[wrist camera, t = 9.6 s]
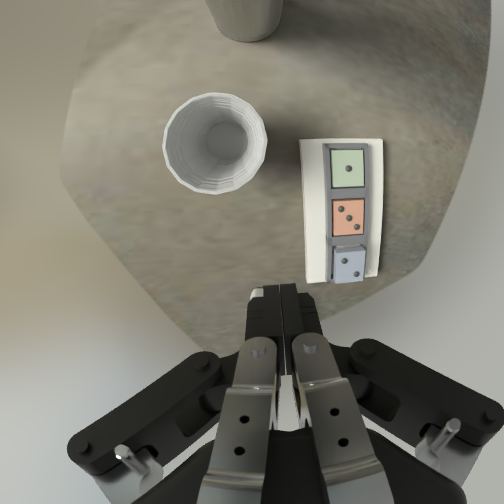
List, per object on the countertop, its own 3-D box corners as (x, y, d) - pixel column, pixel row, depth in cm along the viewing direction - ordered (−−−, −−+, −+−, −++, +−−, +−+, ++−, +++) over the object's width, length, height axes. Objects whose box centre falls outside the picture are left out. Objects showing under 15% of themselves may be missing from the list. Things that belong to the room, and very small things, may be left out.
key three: (331, 198, 38) (334, 201, 36) (360, 197, 37) (364, 200, 36) (331, 231, 40) (334, 236, 38) (359, 229, 39) (363, 233, 38)
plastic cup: (277, 117, 35) (283, 111, 24) (249, 186, 40) (245, 209, 29) (204, 93, 34) (180, 79, 23) (180, 162, 38) (149, 176, 27)
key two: (334, 248, 39) (336, 253, 38) (362, 246, 39) (365, 251, 37) (333, 278, 41) (335, 284, 40) (360, 275, 41) (363, 281, 39)
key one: (329, 149, 35) (332, 150, 33) (359, 149, 34) (363, 150, 33) (330, 185, 37) (333, 187, 35) (360, 183, 37) (364, 186, 35)
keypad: (298, 139, 36) (302, 140, 33) (377, 138, 36) (386, 139, 32) (305, 276, 46) (308, 288, 42) (373, 270, 45) (380, 280, 41)
